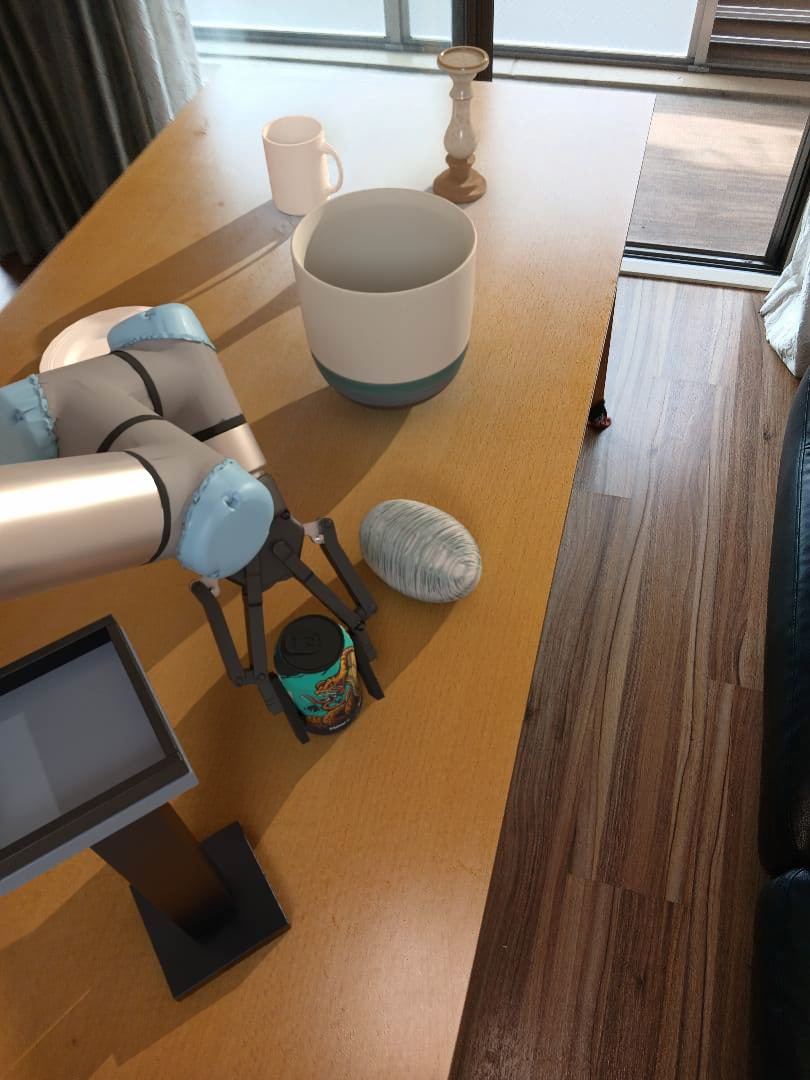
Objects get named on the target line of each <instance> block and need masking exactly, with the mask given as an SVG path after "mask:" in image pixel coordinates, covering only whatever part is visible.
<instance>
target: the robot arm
mask: <svg viewBox="0 0 810 1080" xmlns="http://www.w3.org/2000/svg"><path fill="white" fill-rule="evenodd" d="M153 307H154V308H151V309H149V310H147V311H144V312H140V313H138V314H135V315H133V316H131V317H129V318H127V319H125V320H123V321H121V322H120V323H118V324H116V325H115V326H114V327H113V328H111V330H110V331H109V332H108V335H107V342H108V345H109V348H110V353H109V354H105V355H101V356H98V357H94V358H91V359H87V360H84V361H80V362H77V363H73V364H70V365H67V366H63V367H60V368H56V369H53V370H49V371H46V372H42V373H40V372H39V373H32V374H29V375H27V376H26V378H23V379H20V380H18V381H15V382H12V383H10V384H6V385H4V386H1V387H0V605H4V604H8V603H11V602H14V601H18V600H22V599H25V598H28V597H33V596H36V595H40V594H44V593H47V592H50V591H51V592H52V591H55V590H58V589H62V588H66V587H69V586H72V585H76V584H79V583H84V582H86V581H91V580H95V579H98V578H101V577H106V576H109V575H112V574H115V573H119V572H123V571H126V570H130V569H134V568H137V567H141V566H145V565H150V564H154V563H158V562H162V561H166V560H168V559H169V560H170V559H172V560H177V561H178V562H179V564H180V566H181V567H182V568H183V569H184V570H187V571H189V570H190V571H192V572H194V573H196V574H197V575H199V576H200V577H198V578H193V579H191V580H190V581H189V582H188V585H187V586H188V590H189V592H190V593H191V594H192V595H193V596H194V597H195V598H196V600H197V601H198V602H199V603H200V604H201V605H202V608H203V611H204V614H205V616H206V619H207V622H208V624H209V627H210V630H211V633H212V636H213V639H214V641H215V645H216V647H217V649H218V652H219V656H220V658H221V661H222V663H223V667H224V670H225V672H226V675H227V678H228V680H229V681H230V682H231V684H232V685H233V687H235V688H238V689H240V688H243V687H244V686H250V685H252V686H253V685H254V686H256V688H257V690H258V692H259V694H260V696H261V698H262V700H263V702H264V704H265V706H266V708H267V710H268V711H269V712H270V713H271V714H272V715H273V716H278V715H279V714H280V713H283V714H284V716H285V718H286V720H287V722H288V723H289V726H290V727H291V729H292V731H293V734H294V735H295V737H296V739H297V740H298V741H299V742H300V743H301V744H302V745H306V744H307V743H310V741H311V738H310V737H309V733H308V732H306V730H305V728H304V726H303V724H302V722H301V720H300V718H299V716H298V714H297V712H296V710H295V708H294V706H293V704H292V702H291V700H290V698H289V696H288V694H287V692H286V690H285V688H284V686H283V684H282V682H281V680H280V679H279V677H278V675H277V672H276V671H274V670H271V671H269V665H268V664H269V663H268V654H267V641H266V632H265V621H264V610H263V609H264V608H263V606H264V605H263V604H264V597H263V593H264V592H267V591H268V590H271V589H272V588H273V587H274V586H275V585H276V584H277V583H280V582H285V581H288V580H290V579H293V578H294V579H295V580H296V581H297V582H298V583H299V584H301V586H303V588H305V589H306V590H307V591H308V593H310V594H311V595H313V597H314V598H316V600H317V601H319V602H320V603H321V604H322V605H323V606H324V607H325V608H326V609H327V610H328V611H329V612H330V613H331V614H332V615H333V616H335V618H336V619H338V620H339V621H340V623H342V624H343V625H344V626H345V627H346V629H345V630H346V631H347V633H348V634H349V635H350V637H351V640H352V642H353V647H354V653H355V659H356V665H357V671H358V676H359V677H360V679H361V681H362V683H363V685H364V687H365V690H366V692H367V693H368V695H369V696H370V697H372V698H373V699H375V700H376V701H377V702H379V701H381V700H383V699H384V698H386V695H385V693H384V691H383V689H382V687H381V685H380V683H379V681H378V678H377V676H376V673H375V672H374V670H373V668H372V666H371V662H373V661H375V660H376V659H378V656H377V655H378V654H377V650H376V648H375V646H374V644H373V642H372V640H371V638H370V635H369V633H368V631H367V626H368V625H367V622H368V620H369V619H370V618H371V617H372V616H375V615H376V614H377V613H378V611H379V606H378V604H377V602H376V600H375V599H374V598H373V596H372V594H371V593H370V591H369V589H368V588H367V586H366V585H365V583H364V581H363V579H362V578H361V577H360V575H359V572H358V571H357V570H356V568H355V567H354V565H353V564H352V562H351V560H350V558H349V557H348V555H347V554H346V552H345V550H344V548H343V547H342V545H341V544H340V542H339V539H338V535H337V531H336V526H335V521H334V520H333V518H330V517H321V516H319V517H317V518H316V519H315V520H312V521H308V522H303V523H301V522H300V521H299V520H298V519H297V518H295V517H294V516H293V515H292V513H291V511H290V509H289V507H288V505H287V502H286V500H285V499H284V496H283V494H282V492H281V490H280V488H279V486H278V483H277V481H276V479H275V477H274V475H273V474H270V472H265V471H264V470H263V469H264V468H265V467H266V465H267V460H266V458H265V456H264V454H263V452H262V450H261V448H260V446H259V444H258V441H257V440H256V438H255V435H254V433H253V431H252V429H251V427H250V425H249V423H248V422H247V419H246V417H245V414H244V413H243V411H242V408H241V406H240V403H239V401H238V399H237V397H236V395H235V393H234V389H233V388H232V386H231V384H230V382H229V379H228V377H227V374H226V373H225V369H224V368H223V366H222V363H221V362H220V359H219V357H218V355H217V352H216V347H215V346H214V344H213V343H212V342H211V340H210V338H209V337H208V335H207V333H206V331H205V329H204V328H203V326H202V324H201V322H200V320H199V319H198V317H197V315H196V314H195V312H194V310H192V309H191V307H189V306H187V305H186V304H184V303H181V302H180V303H179V302H171V303H163V304H160V305H157V306H153ZM305 536H307V537H308V538H309V539H310V541H311V542H312V543H313V544H317V545H318V546H319V548H320V550H321V551H322V553H323V555H324V557H325V558H326V560H327V561H328V563H329V565H330V567H331V568H332V569H333V571H334V573H335V575H336V576H337V577H338V579H339V581H340V582H341V584H342V585H343V587H344V589H345V590H346V592H347V593H348V595H349V597H350V598H351V600H352V602H353V603H354V605H355V608H354V609H352V608H351V607H350V606H349V605H348V604H346V603H345V602H344V600H343V599H341V598H340V597H339V596H338V595H337V594H336V593H335V592H334V591H333V590H332V589H331V588H330V587H329V586H328V585H326V583H324V581H323V580H322V579H320V577H318V576H317V574H315V572H314V571H313V570H312V569H311V568H310V567H309V566H308V565H307V564H306V563H305V562H304V561H303V560H302V559H301V557H302V551H303V546H304V541H305ZM220 579H225V580H226V581H229V582H231V583H233V584H235V585H237V586H239V587H240V591H241V600H242V604H243V613H244V615H243V616H244V624H245V636H246V645H247V656H248V667H243V664H242V662H241V660H240V657H239V654H238V651H237V648H236V645H235V642H234V639H233V637H232V634H231V631H230V628H229V626H228V623H227V620H226V617H225V614H224V611H223V609H222V607H221V604H220V602H219V600H218V599H217V597H218V596H219V595H220V593H221V588H220V586H219V580H220Z"/></svg>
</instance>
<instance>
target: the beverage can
mask: <svg viewBox="0 0 810 1080" xmlns="http://www.w3.org/2000/svg"><path fill="white" fill-rule="evenodd" d="M346 630H347V629H345V628H344V627H343V626H342V625H340V624H339V623H338V622H337V621H336V620H334V619H333V618H332V617H329V616H327V615H324V614H319V613H310V614H304V615H300V616H298V617H296V618H294V619H292V620H290V621H289V622H288V623H286V625H285V626H284V627H283V629H282V630H281V632H280V633H279V635H278V639H277V641H276V643H275V646H274V648H273V655H272V658H273V666H274V669H275V673H276V674H277V675H278V677H279V679H280V680H281V682H282V684H283V686H284V688H285V690H286V692H287V694H288V696H289V698H290V700H291V702H292V704H293V706H294V708H295V710H296V712H297V714H298V716H299V718H300V720H301V722H302V724H303V726H304V728H305V730H306V732H307V734H310V735H313V736H314V735H316V736H331V735H334V734H337V733H340V732H342V731H343V730H346V729H347V728H348V727H349V726H351V725H352V724H353V722H355V720H356V719H357V717H358V715H359V713H360V711H361V708H362V704H363V703H362V702H363V696H362V690H361V683H360V678H359V677H360V676H359V672H358V670H357V665H356V659H355V653H354V647H353V642H352V640H351V637H350V635H349V634H348V633H347V631H346Z"/></svg>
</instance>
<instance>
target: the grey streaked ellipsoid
mask: <svg viewBox="0 0 810 1080" xmlns="http://www.w3.org/2000/svg"><path fill="white" fill-rule="evenodd" d="M358 544H359V545H358V546H359V550H360V551H361V555H362V556H363V559H364V561H365V563H366V564H367V566H368V567H369V568H370V569H371V571H372V572H374V574H375V575H377V577H379V579H381V581H383V582H384V583H386V584H387V585H388V586H389V587H391V588H392V589H394V590H396V592H399V593H401V594H402V595H404V596H407V597H409V598H413V599H416V600H419V601H421V602H427V603H435V604H443V603H445V604H446V603H451V602H455V601H458V600H461V599H463V598H465V597H467V596H469V595H470V594H471V593H472V592H473V591H474V590H475V589H476V587H477V586H478V584H479V582H480V579H481V577H482V570H483V561H482V556H481V553H480V550H479V547H478V544H477V542H476V540H475V539H474V537H473V536H472V534H471V533H470V532H469V531H468V529H467V528H466V527H465V526H464V525H463V524H462V523H461V522H459V520H457V519H456V518H455V517H453V516H452V515H451V514H449V513H447V512H445V511H444V510H442V509H439V508H438V507H435V506H433V505H429V504H426V503H423V502H420V501H416V500H411V499H403V498H398V499H390V500H385V501H382V502H379V503H377V504H375V505H374V506H373V507H372V508H370V509H369V510H368V511H367V512H366V513H365V515H364V516H363V518H362V519H361V522H360V524H359V530H358Z"/></svg>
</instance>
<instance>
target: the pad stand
mask: <svg viewBox="0 0 810 1080" xmlns="http://www.w3.org/2000/svg"><path fill="white" fill-rule="evenodd" d="M199 784H200V782H199V779H198V777H197V775H196V773H195V771H194V768H193V767H192V764H191V763H190V761H189V759H188V757H187V755H186V753H185V751H184V748H183V746H182V744H181V742H180V740H179V738H178V736H177V734H176V732H175V729H174V728H173V726H172V724H171V722H170V719H169V717H168V715H167V714H166V711H165V710H164V707H163V705H162V703H161V701H160V699H159V697H158V695H157V693H156V691H155V689H154V687H153V685H152V682H151V681H150V678H149V676H148V674H147V672H146V670H145V668H144V666H143V664H142V661H141V660H140V657H139V656H138V654H137V651H136V650H135V648H134V646H133V644H132V641H131V639H130V638H129V636H128V634H127V632H126V630H125V629H124V627H123V626H121V625H120V624H119V623H118V621H117V619H116V618H115V617H114V615H113V614H112V613H109V614H108V615H107V614H106V616H103V617H101V618H99V619H97V620H95V621H92V622H91V623H88V624H86V625H85V626H83V627H81V628H79V629H77V630H74V631H73V632H70V633H68V634H66V635H64V636H62V637H60V638H59V639H56V640H54V641H52V642H50V643H48V644H46V645H44V646H42V647H40V648H38V649H36V650H34V651H32V652H30V653H27V654H26V655H24V656H22V657H19V658H18V659H16V660H13V661H12V662H10V663H7V664H6V665H3V666H2V667H0V897H1V898H3V897H5V896H7V895H9V894H11V893H12V892H14V891H15V890H17V889H18V888H20V887H22V886H24V885H25V884H27V883H30V882H31V881H32V880H34V879H36V878H38V877H40V876H42V875H43V874H45V873H47V872H48V871H50V870H52V869H53V868H56V867H57V866H59V865H61V864H62V863H64V862H65V861H67V860H70V859H71V858H72V857H75V856H76V855H78V854H80V853H81V852H83V851H85V850H87V849H88V848H90V850H92V851H93V852H94V853H95V854H96V855H98V856H99V857H100V859H102V860H103V861H104V862H105V863H106V864H108V865H109V866H110V867H111V868H112V869H113V870H114V871H115V872H117V874H119V875H120V876H121V877H122V878H123V879H124V880H125V881H127V882H128V883H129V884H128V888H129V890H130V893H131V895H132V897H133V900H134V903H135V906H136V907H137V910H138V913H139V915H140V917H141V920H142V923H143V925H144V928H145V931H146V933H147V935H148V938H149V940H150V943H151V945H152V948H153V951H154V953H155V955H156V958H157V961H158V963H159V965H160V968H161V970H162V973H163V976H164V978H165V981H166V983H167V986H168V988H169V991H170V993H171V995H172V999H173V1000H174V1001H176V1002H177V1003H181V1002H182V1001H184V1000H185V999H187V998H188V997H190V996H191V995H192V994H194V993H196V992H197V991H199V990H200V989H202V988H203V987H205V986H207V985H208V984H209V983H211V982H213V981H214V980H215V979H217V978H219V977H220V976H222V975H223V974H224V973H226V972H227V971H230V970H231V969H233V968H234V967H236V966H237V965H239V963H241V962H242V961H244V960H246V959H248V958H249V957H250V956H252V955H254V954H255V953H256V952H258V951H260V950H261V949H263V948H264V947H266V946H268V945H269V944H271V943H272V942H273V941H275V940H276V939H278V938H279V937H281V936H283V935H284V934H286V933H287V932H289V931H290V930H292V924H291V923H290V921H289V918H288V917H287V915H286V913H285V911H284V909H283V907H282V905H281V903H280V902H279V901H280V900H279V899H278V898H277V897H278V896H277V895H276V893H275V891H274V889H273V887H272V885H271V883H270V882H269V879H268V877H267V875H266V873H265V872H264V870H263V867H262V865H261V863H260V862H259V859H258V857H257V855H256V854H255V851H254V850H253V847H252V845H251V843H250V842H249V839H248V837H247V835H246V834H245V831H244V830H243V828H242V826H241V823H240V822H239V820H237V819H236V820H234V821H233V822H231V823H229V824H228V825H226V826H224V827H223V828H220V829H219V830H217V831H216V832H214V833H213V834H211V835H209V836H208V837H206V838H204V839H202V840H201V841H199V840H198V838H197V837H196V836H195V835H194V833H193V832H192V830H191V829H190V828H189V826H188V825H187V824H186V823H185V821H184V820H183V819H182V818H181V816H180V815H179V813H178V812H177V811H176V810H175V809H174V807H173V805H172V804H171V803H170V801H172V800H174V799H175V798H177V797H178V796H180V795H182V794H184V793H185V792H187V791H189V790H191V789H192V788H194V787H196V786H197V785H199Z"/></svg>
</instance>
